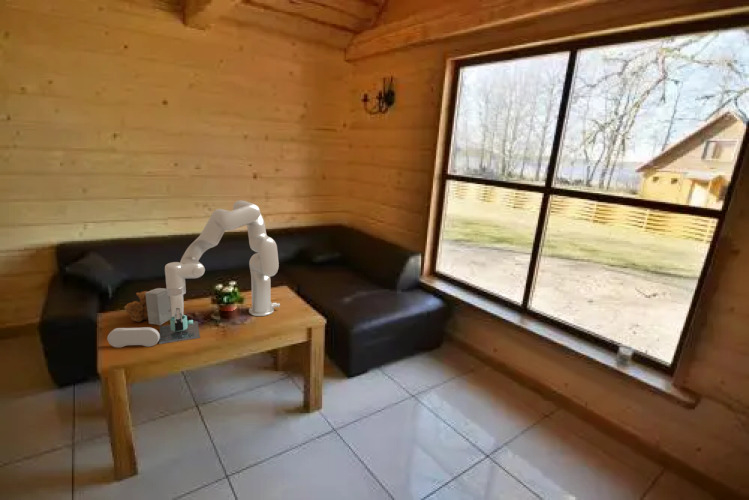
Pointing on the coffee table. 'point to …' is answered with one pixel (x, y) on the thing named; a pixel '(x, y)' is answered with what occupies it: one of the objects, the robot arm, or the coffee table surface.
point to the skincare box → (158, 306)
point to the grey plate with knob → (178, 333)
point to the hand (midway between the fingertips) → (179, 326)
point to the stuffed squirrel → (138, 308)
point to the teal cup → (185, 322)
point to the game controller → (133, 337)
